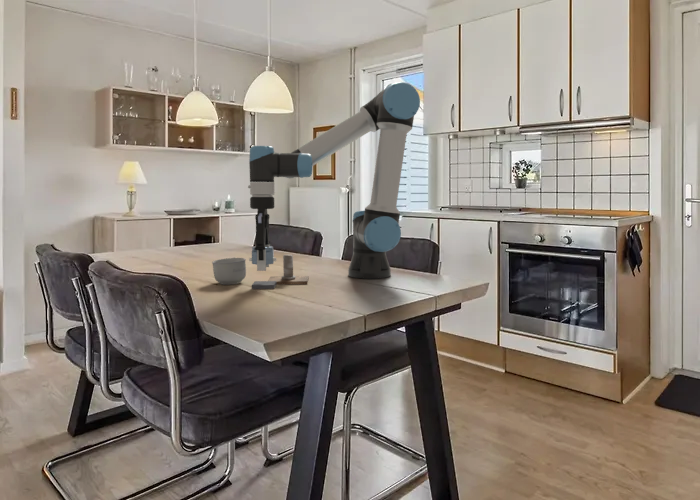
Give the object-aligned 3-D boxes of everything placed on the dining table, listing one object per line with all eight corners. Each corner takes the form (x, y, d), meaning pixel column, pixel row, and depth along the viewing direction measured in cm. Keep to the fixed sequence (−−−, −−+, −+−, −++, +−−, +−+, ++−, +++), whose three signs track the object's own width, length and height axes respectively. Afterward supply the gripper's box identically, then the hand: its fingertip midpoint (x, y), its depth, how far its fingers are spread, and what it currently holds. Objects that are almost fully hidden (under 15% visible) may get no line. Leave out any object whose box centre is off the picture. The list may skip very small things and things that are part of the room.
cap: (277, 261, 174) (277, 244, 173) (275, 264, 167) (274, 246, 166) (251, 261, 173) (250, 243, 173) (248, 264, 167) (247, 246, 166)
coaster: (276, 284, 175) (276, 281, 175) (274, 288, 168) (274, 285, 168) (255, 284, 174) (254, 281, 174) (251, 289, 168) (251, 285, 167)
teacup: (238, 286, 171) (237, 262, 170) (207, 285, 173) (206, 261, 172) (254, 279, 185) (254, 256, 184) (225, 278, 187) (224, 255, 186)
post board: (308, 279, 185) (308, 253, 184) (307, 284, 175) (306, 257, 174) (270, 279, 184) (270, 253, 183) (267, 284, 175) (266, 257, 174)
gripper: (254, 195, 177) (255, 264, 180) (245, 196, 158) (246, 273, 160) (277, 195, 177) (278, 264, 180) (270, 196, 158) (271, 273, 161)
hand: (263, 268), depth 170 cm, fingers closed on cap, 7 cm apart
